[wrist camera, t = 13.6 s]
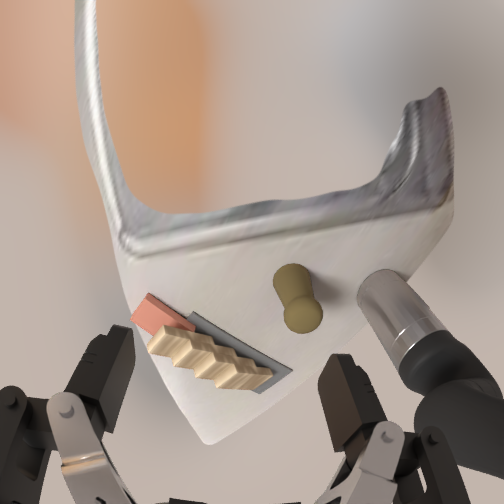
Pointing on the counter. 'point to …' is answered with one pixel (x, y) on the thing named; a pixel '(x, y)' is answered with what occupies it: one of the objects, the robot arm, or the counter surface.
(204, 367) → the domino
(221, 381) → the domino
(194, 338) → the domino
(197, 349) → the domino
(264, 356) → the mat
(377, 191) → the counter surface
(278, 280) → the cork
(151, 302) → the domino
